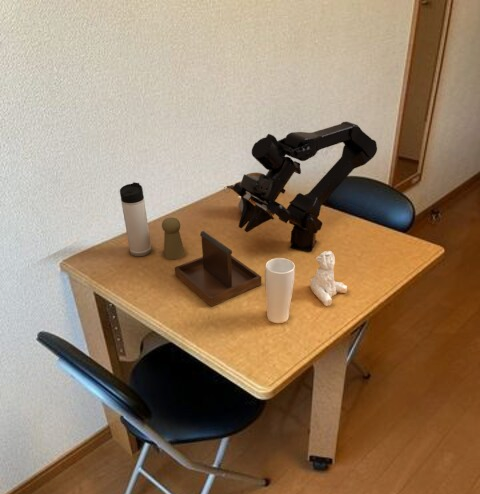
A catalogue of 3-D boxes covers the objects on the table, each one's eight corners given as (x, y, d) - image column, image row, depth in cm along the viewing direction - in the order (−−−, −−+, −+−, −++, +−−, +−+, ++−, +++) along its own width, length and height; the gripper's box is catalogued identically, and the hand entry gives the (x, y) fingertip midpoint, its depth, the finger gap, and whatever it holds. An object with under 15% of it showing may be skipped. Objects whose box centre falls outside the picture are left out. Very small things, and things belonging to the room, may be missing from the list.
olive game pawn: (181, 260, 143) (177, 225, 136) (161, 258, 144) (156, 223, 137) (187, 249, 147) (184, 215, 140) (167, 247, 148) (163, 214, 141)
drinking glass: (262, 310, 123) (263, 258, 114) (289, 308, 124) (292, 256, 114) (265, 327, 118) (267, 274, 109) (294, 325, 118) (297, 272, 109)
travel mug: (155, 247, 149) (146, 183, 136) (145, 258, 144) (135, 193, 131) (137, 244, 150) (126, 180, 138) (126, 254, 145) (114, 190, 133)
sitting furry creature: (327, 308, 124) (332, 267, 116) (299, 294, 128) (302, 254, 121) (348, 291, 129) (354, 251, 122) (321, 279, 134) (325, 240, 126)
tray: (223, 256, 143) (221, 218, 136) (261, 284, 132) (262, 244, 124) (175, 275, 136) (170, 236, 129) (211, 306, 125) (208, 265, 117)
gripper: (237, 151, 128) (203, 202, 130) (283, 173, 116) (246, 229, 118) (260, 173, 137) (229, 221, 139) (306, 196, 125) (271, 248, 127)
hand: (242, 229), depth 130 cm, fingers closed
